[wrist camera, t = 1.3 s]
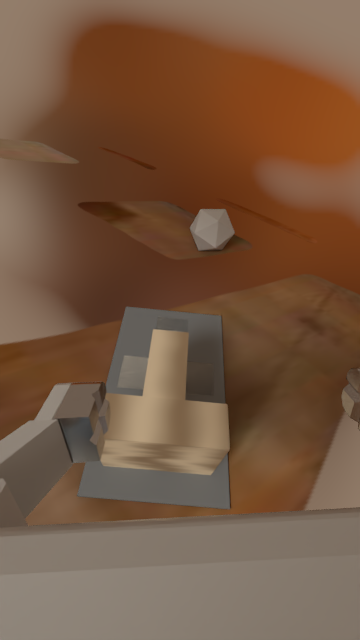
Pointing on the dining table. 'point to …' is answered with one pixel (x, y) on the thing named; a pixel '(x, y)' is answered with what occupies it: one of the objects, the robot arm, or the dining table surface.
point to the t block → (166, 418)
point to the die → (211, 229)
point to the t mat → (200, 386)
